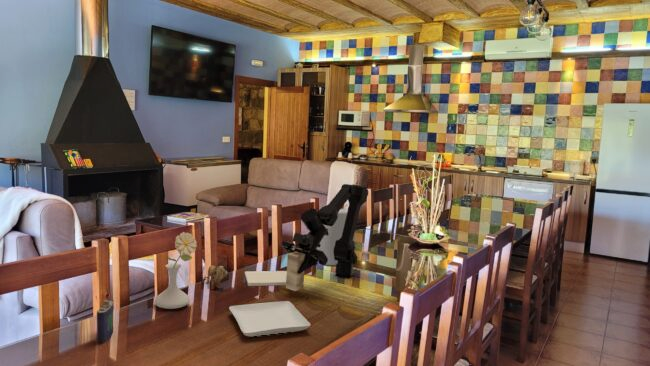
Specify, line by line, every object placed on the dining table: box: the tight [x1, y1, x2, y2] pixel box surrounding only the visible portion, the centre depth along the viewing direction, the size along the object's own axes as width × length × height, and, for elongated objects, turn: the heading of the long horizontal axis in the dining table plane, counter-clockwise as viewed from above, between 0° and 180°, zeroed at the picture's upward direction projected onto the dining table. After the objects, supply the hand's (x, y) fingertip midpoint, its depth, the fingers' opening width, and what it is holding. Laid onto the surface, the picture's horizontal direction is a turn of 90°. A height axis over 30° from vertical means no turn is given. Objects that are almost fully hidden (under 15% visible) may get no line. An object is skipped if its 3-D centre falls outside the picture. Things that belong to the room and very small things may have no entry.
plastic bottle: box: [316, 204, 348, 267], centre depth 224 cm, size 15×15×28 cm
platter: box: [244, 270, 287, 287], centre depth 194 cm, size 18×14×1 cm
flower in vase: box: [153, 231, 197, 310], centre depth 160 cm, size 13×11×25 cm
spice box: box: [285, 252, 305, 292], centre depth 178 cm, size 5×5×13 cm
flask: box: [96, 299, 114, 345], centre depth 136 cm, size 9×3×11 cm, turn 8°
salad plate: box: [228, 300, 312, 338], centre depth 152 cm, size 21×21×3 cm
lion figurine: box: [206, 264, 229, 290], centre depth 183 cm, size 15×5×9 cm, turn 36°
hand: (293, 271), depth 176 cm, fingers closed on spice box, 5 cm apart
